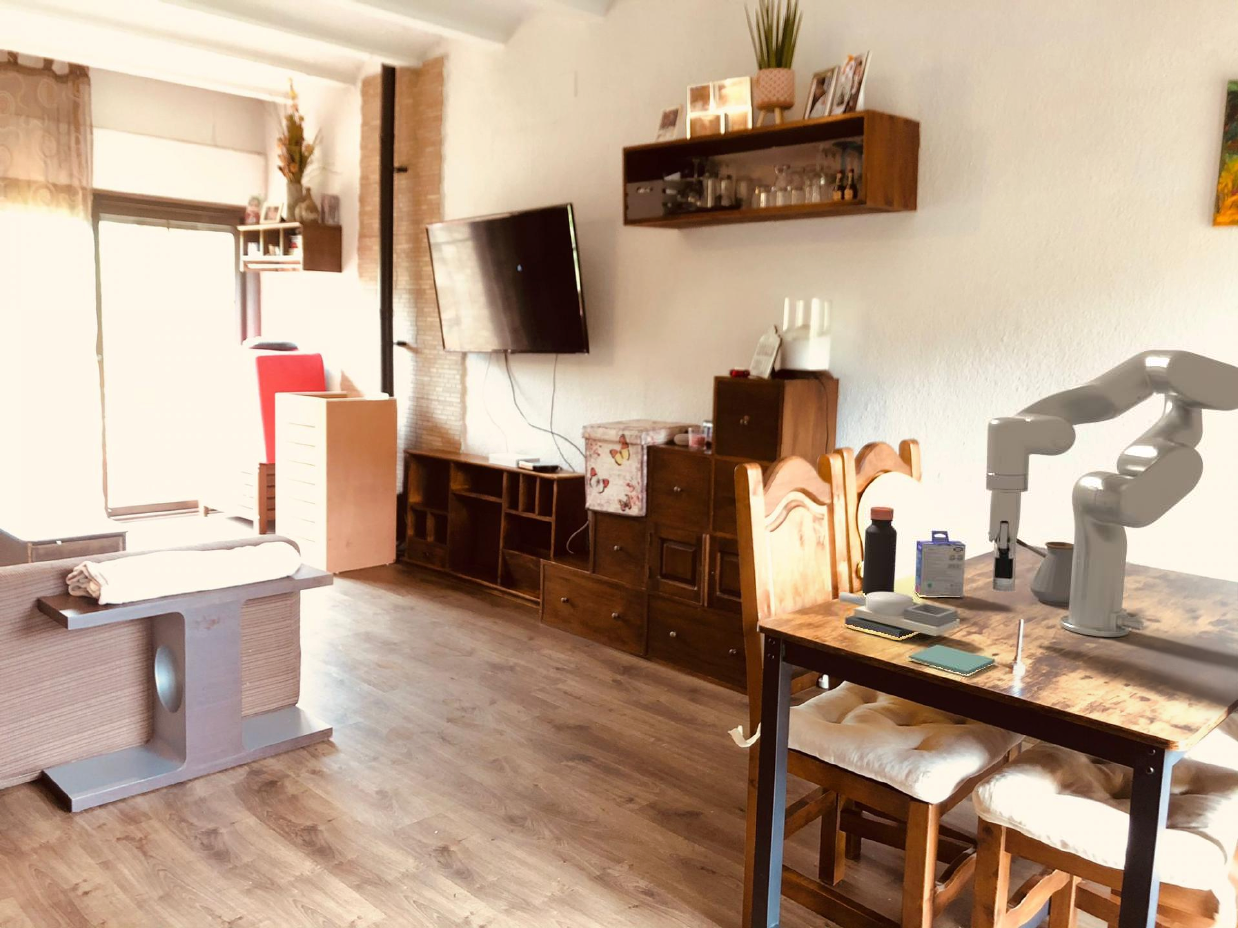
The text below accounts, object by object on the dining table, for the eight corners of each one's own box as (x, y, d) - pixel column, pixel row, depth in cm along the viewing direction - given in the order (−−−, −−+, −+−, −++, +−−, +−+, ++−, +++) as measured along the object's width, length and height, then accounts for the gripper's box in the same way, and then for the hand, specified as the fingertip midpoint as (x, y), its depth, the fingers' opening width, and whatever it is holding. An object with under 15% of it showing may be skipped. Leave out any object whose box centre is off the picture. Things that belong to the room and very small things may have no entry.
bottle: (871, 601, 217) (876, 511, 214) (856, 593, 223) (860, 506, 221) (899, 600, 218) (904, 510, 216) (883, 592, 225) (887, 505, 222)
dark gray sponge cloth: (931, 629, 196) (931, 619, 196) (898, 641, 188) (899, 631, 188) (878, 616, 205) (878, 607, 204) (844, 627, 197) (845, 617, 196)
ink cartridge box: (956, 592, 226) (960, 530, 224) (964, 599, 220) (968, 535, 218) (912, 591, 226) (916, 529, 224) (919, 598, 220) (923, 534, 219)
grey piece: (1018, 588, 193) (1020, 538, 191) (1009, 592, 190) (1010, 541, 189) (998, 585, 195) (1000, 535, 194) (989, 588, 193) (990, 538, 191)
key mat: (994, 664, 175) (994, 658, 175) (966, 676, 168) (967, 671, 168) (937, 649, 183) (937, 644, 183) (908, 660, 176) (909, 655, 176)
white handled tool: (828, 609, 201) (829, 590, 200) (854, 602, 207) (854, 583, 207) (935, 636, 184) (936, 615, 183) (959, 627, 190) (960, 606, 189)
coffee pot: (1090, 600, 221) (1095, 534, 219) (1078, 611, 212) (1083, 542, 210) (992, 585, 233) (996, 522, 232) (977, 594, 224) (981, 529, 222)
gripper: (989, 475, 199) (987, 564, 201) (982, 487, 184) (980, 584, 186) (1030, 476, 196) (1027, 567, 198) (1026, 489, 181) (1023, 587, 183)
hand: (1004, 574), depth 192 cm, fingers closed on grey piece, 4 cm apart
